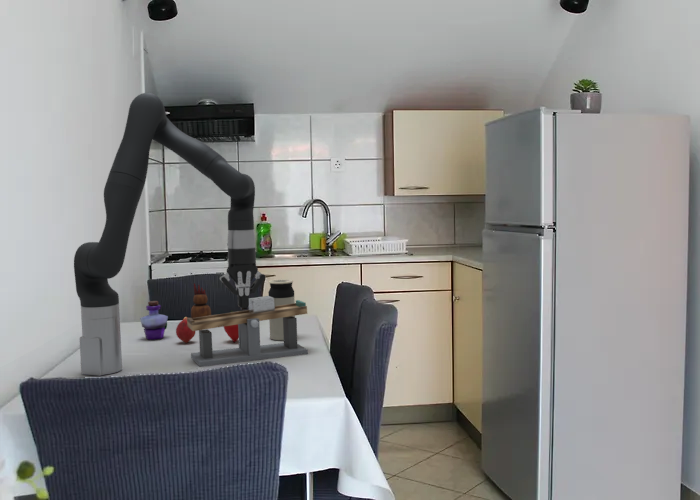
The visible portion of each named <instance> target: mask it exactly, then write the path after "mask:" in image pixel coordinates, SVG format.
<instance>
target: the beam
mask: <svg viewBox="0 0 700 500" xmlns="http://www.w3.org/2000/svg"><path fill="white" fill-rule="evenodd" d="M302 315H308V306H307V304H306V302H304V301H302V300H299V299H296V300H295V303H293V304H286V305H279V306H275V311H268V312H262V313H255V314H251V313H249V309H244V310H237V311H232V312H225V313H220V314H211V315H210V316H203V317H196V318H191V317H187V325H188V327H189V328H190V329H191V330H192V331H195V332H196V331H197V332H199V330H207V329H208V330H209V329H215V328H224V326H230V325H237V324H243V323H247V319H254V318H258V319H259V322H261V321H263V322H264V321H269V319H276V318H282V317H289V316H295V317H296V316H302Z"/></svg>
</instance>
